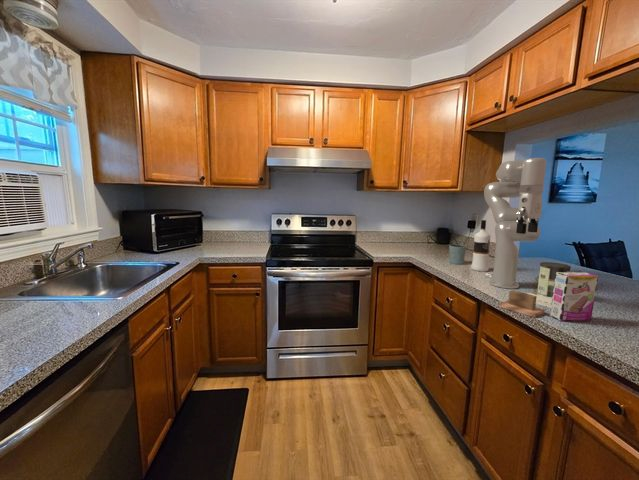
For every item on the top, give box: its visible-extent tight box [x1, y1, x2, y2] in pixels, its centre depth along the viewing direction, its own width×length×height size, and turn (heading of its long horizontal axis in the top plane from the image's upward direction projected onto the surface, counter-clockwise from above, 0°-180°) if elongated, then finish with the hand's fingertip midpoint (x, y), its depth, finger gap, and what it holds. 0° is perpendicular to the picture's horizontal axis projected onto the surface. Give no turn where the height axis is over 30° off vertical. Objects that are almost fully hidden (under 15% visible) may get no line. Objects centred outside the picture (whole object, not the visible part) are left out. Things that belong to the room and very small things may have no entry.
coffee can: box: [536, 261, 572, 298], centre depth 123 cm, size 10×10×14 cm
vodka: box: [470, 219, 492, 273], centre depth 167 cm, size 9×9×30 cm
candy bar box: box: [549, 271, 599, 322], centre depth 99 cm, size 11×5×16 cm, turn 92°
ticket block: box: [526, 292, 552, 309], centre depth 116 cm, size 12×8×2 cm, turn 31°
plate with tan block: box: [499, 289, 545, 318], centre depth 107 cm, size 12×7×6 cm, turn 31°
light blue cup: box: [448, 243, 467, 266], centre depth 186 cm, size 10×10×12 cm
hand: (526, 232), depth 115 cm, fingers open, 9 cm apart
